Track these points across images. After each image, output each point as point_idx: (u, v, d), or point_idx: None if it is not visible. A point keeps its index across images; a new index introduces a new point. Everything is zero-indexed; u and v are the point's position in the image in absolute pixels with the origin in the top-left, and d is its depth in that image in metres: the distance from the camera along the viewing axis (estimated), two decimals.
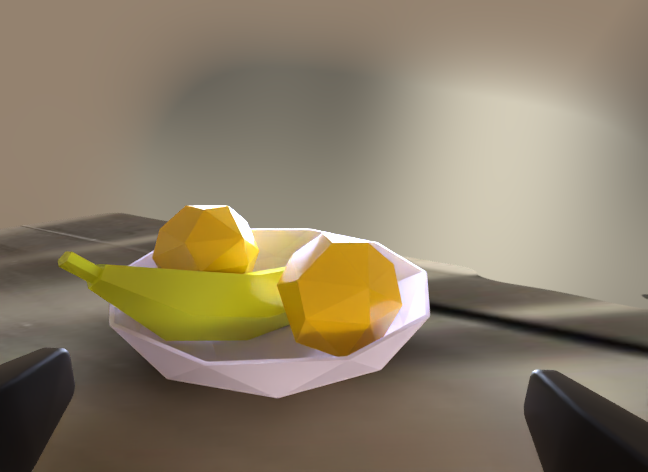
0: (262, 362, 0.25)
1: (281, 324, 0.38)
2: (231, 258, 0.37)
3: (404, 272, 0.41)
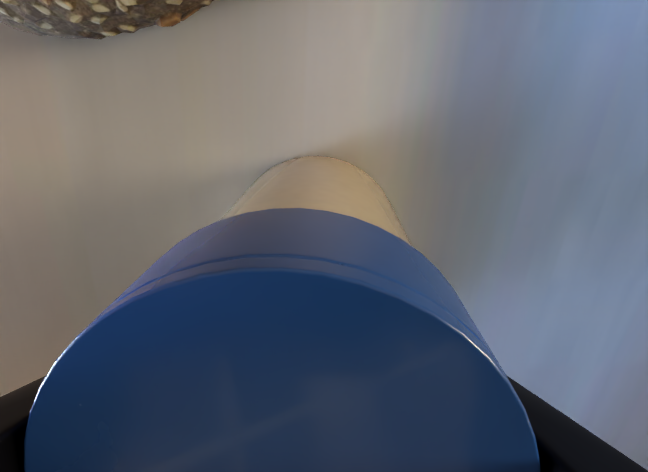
0: None
1: None
2: None
3: None
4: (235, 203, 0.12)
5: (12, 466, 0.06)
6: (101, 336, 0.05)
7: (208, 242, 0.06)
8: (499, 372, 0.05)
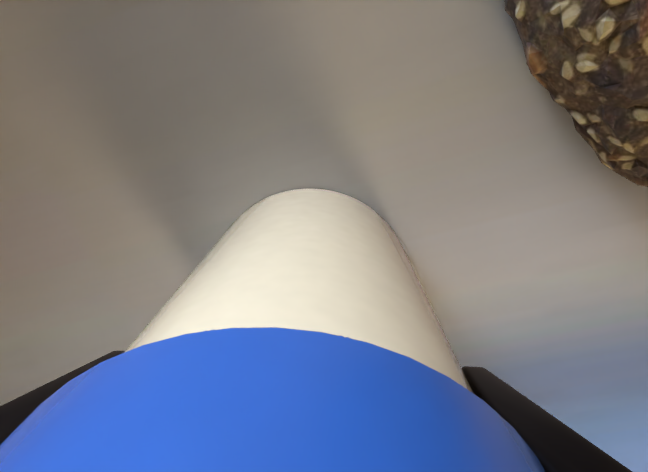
0: None
1: None
2: None
3: None
4: (374, 243, 0.09)
5: None
6: None
7: (81, 440, 0.03)
8: None
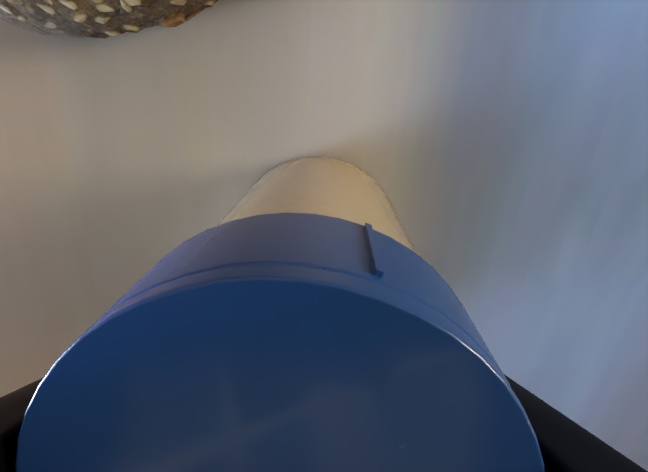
0: None
1: None
2: None
3: None
4: (237, 203, 0.12)
5: (13, 466, 0.06)
6: None
7: None
8: (157, 297, 0.05)
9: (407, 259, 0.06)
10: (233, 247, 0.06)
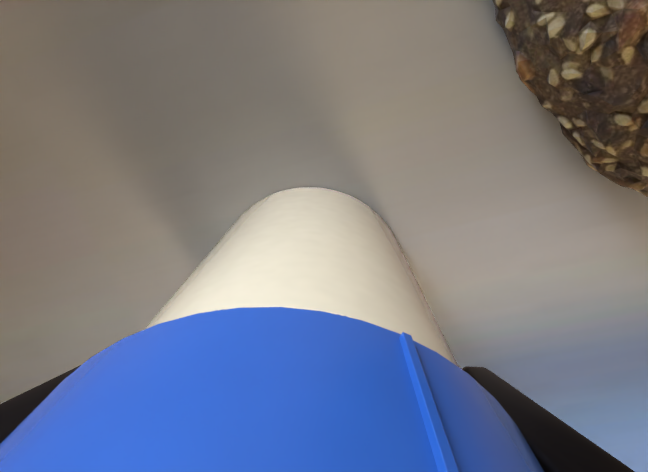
0: None
1: None
2: None
3: None
4: (371, 237, 0.10)
5: None
6: None
7: None
8: None
9: (472, 407, 0.04)
10: (184, 403, 0.03)
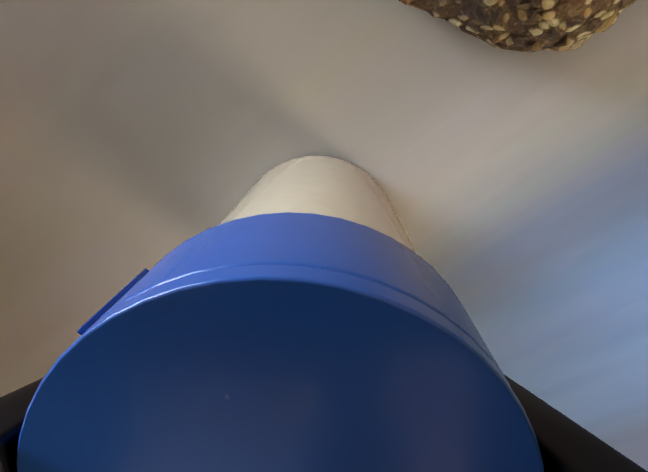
0: None
1: None
2: None
3: None
4: (325, 175, 0.12)
5: (13, 466, 0.06)
6: None
7: None
8: None
9: (158, 264, 0.07)
10: None
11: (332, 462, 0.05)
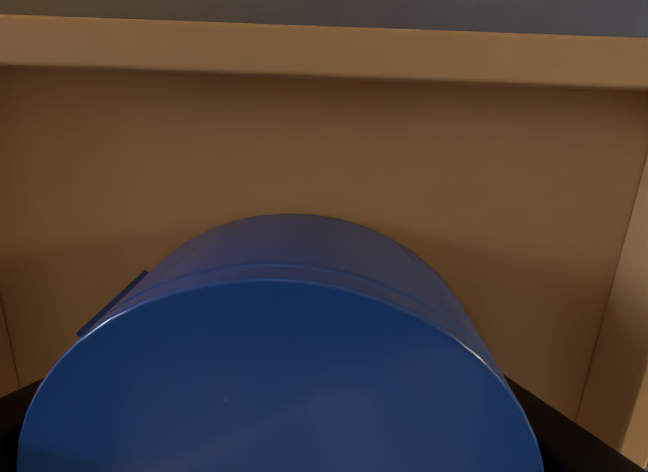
0: None
1: None
2: None
3: None
4: None
5: (13, 466, 0.06)
6: None
7: None
8: None
9: (157, 266, 0.07)
10: None
11: (331, 464, 0.05)
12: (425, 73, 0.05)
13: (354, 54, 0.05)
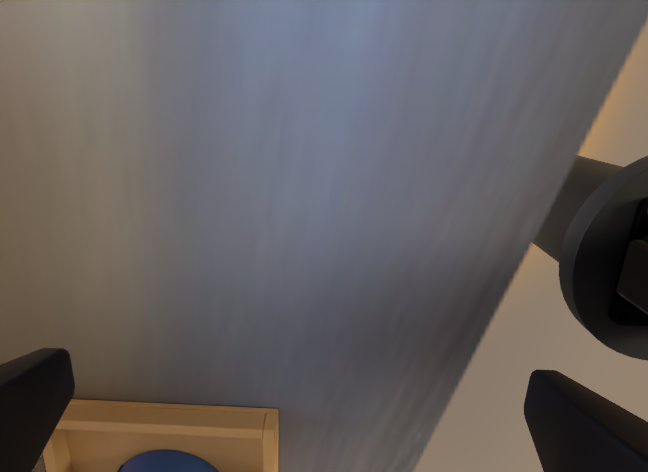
0: None
1: None
2: None
3: None
4: None
5: None
6: None
7: None
8: None
9: (124, 469, 0.23)
10: None
11: None
12: (187, 434, 0.22)
13: (168, 430, 0.22)
